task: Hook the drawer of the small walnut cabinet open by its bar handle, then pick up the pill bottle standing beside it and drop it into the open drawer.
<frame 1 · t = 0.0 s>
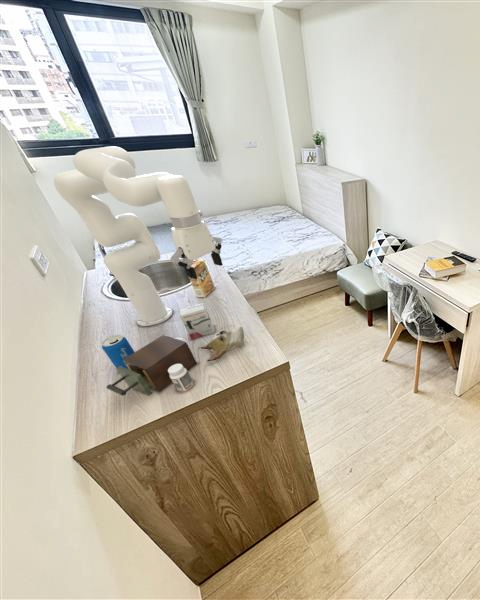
hand: (206, 271, 103), 31 cm above the table, tool pointing down, fingers open, 9 cm apart
drawer: (144, 373, 101), point 5 cm above the table, slide at 1.5 cm
cabinet: (168, 372, 108), on the table
beverage can: (130, 366, 111), on the table
ceramic sculpture: (227, 350, 117), on the table
pill bottle: (185, 386, 103), on the table
candy box: (206, 292, 152), on the table
ink box: (202, 333, 126), on the table
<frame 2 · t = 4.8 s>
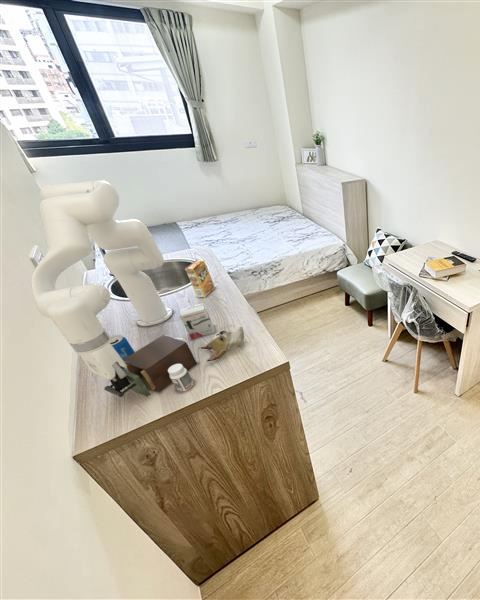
hand: (123, 386, 96), 6 cm above the table, tool pointing down, fingers closed
drawer: (143, 375, 100), point 5 cm above the table, slide at 2.1 cm, touching gripper
everything else where it was.
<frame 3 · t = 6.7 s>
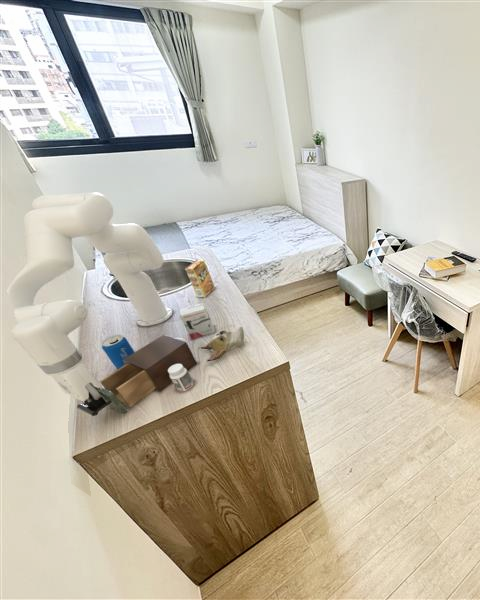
hand: (99, 406, 91), 5 cm above the table, tool pointing down, fingers closed
drawer: (119, 391, 95), point 5 cm above the table, slide at 9.1 cm
everything else where it was.
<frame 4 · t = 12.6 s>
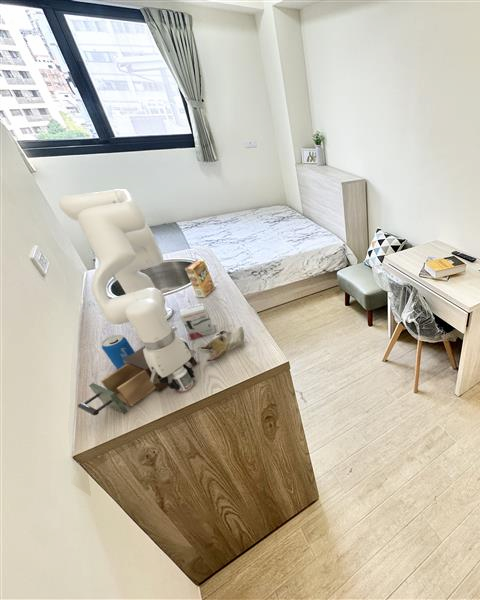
hand: (183, 381, 102), 2 cm above the table, tool pointing down, fingers closed on pill bottle, 4 cm apart
pill bottle: (185, 386, 103), on the table, touching gripper
everything else where it was.
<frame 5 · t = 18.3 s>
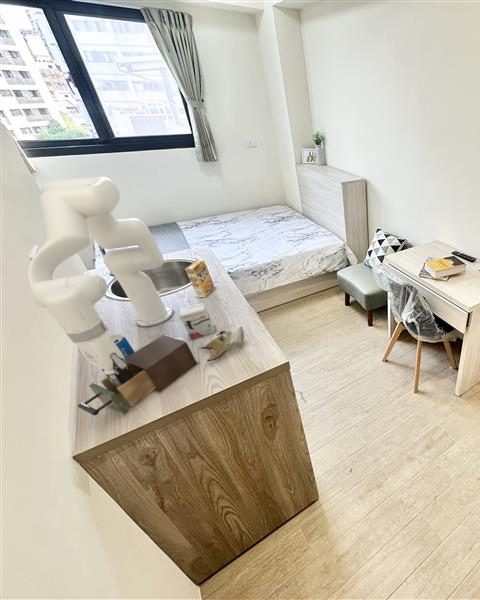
hand: (120, 377, 95), 9 cm above the table, tool pointing down, fingers closed on pill bottle, 4 cm apart
drawer: (120, 390, 95), point 5 cm above the table, slide at 8.9 cm, touching gripper
pill bottle: (124, 382, 96), point 7 cm above the table, touching gripper
everything else where it was.
when the fingers open (9 cm above the table, at t = 20.0 s): pill bottle drops 5 cm, resting on drawer.
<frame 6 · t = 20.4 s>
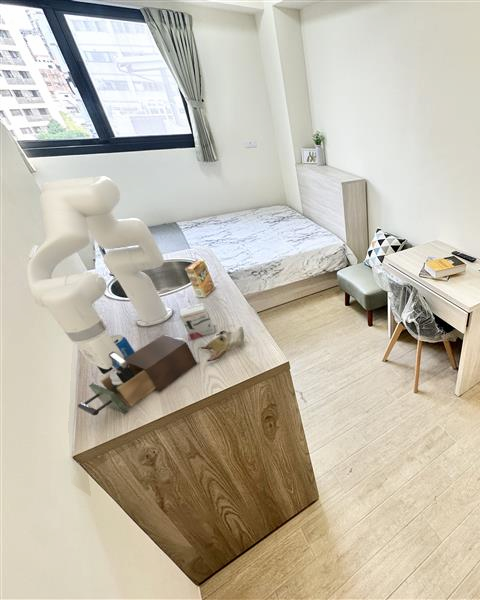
hand: (118, 374, 94), 10 cm above the table, tool pointing down, fingers open, 8 cm apart
drawer: (120, 390, 95), point 5 cm above the table, slide at 8.9 cm, touching pill bottle
pill bottle: (131, 392, 99), point 2 cm above the table, touching drawer
everything else where it was.
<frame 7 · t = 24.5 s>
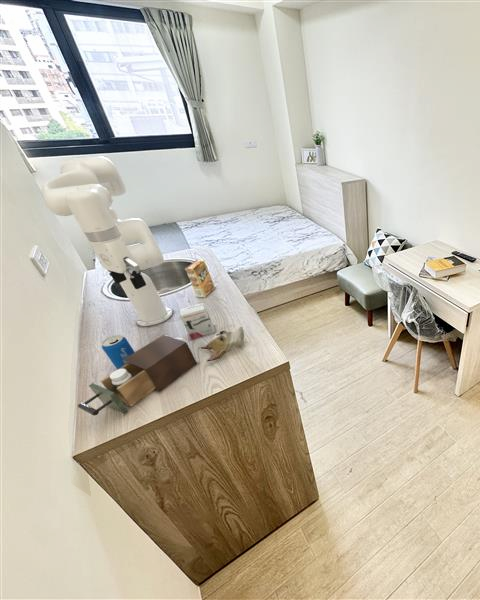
hand: (131, 284, 102), 28 cm above the table, tool pointing down, fingers open, 9 cm apart
nothing on the table moved.
at the end: drawer slide at 8.9 cm; pill bottle inside the target area in the drawer (6.1 cm from its centre), point 1.8 cm above the cabinet's base; pill bottle touching drawer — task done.
